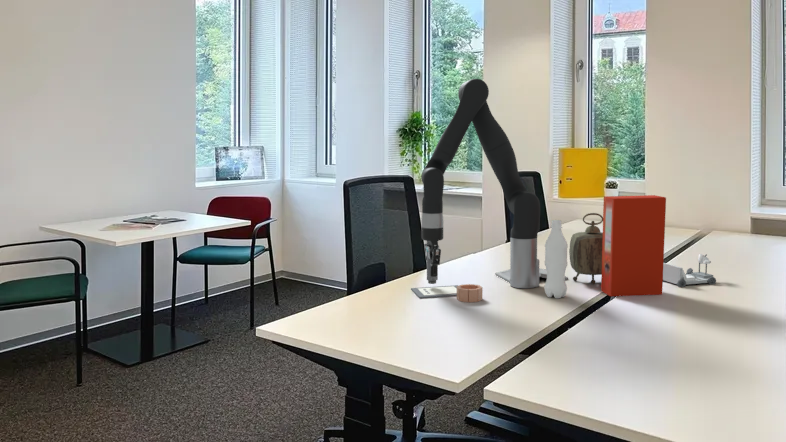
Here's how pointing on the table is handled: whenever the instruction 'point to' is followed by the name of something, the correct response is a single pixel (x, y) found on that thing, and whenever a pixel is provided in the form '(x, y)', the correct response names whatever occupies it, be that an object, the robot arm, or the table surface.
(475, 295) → the pen cup
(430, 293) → the grey tablet
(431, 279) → the marker
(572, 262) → the tabletop clock
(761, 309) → the table surface
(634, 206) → the file binder
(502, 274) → the gadget
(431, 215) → the robot arm
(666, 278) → the toy car
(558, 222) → the water bottle
